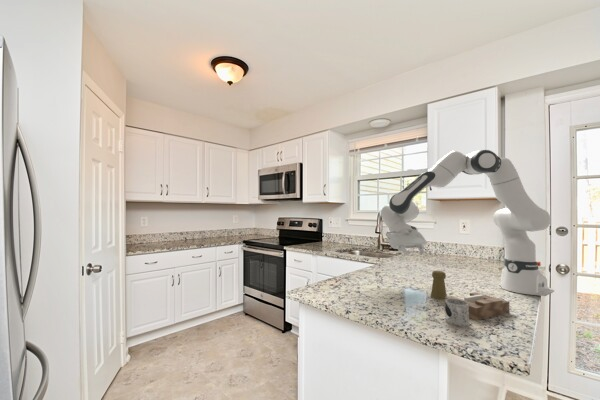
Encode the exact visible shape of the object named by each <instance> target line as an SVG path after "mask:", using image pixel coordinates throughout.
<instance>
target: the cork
mask: <svg viewBox="0 0 600 400" xmlns="http://www.w3.org/2000/svg"><path fill="white" fill-rule="evenodd" d="M431 276H432V278H433V279H432V287H431V293H430V297H431V298H433V299H436V300H441V301H442V300H444V301H445V297H448V296H447V291H446V283H445V279H446V277H447V275H446V273H445V272H444V271H442V270H433V271H432V273H431Z"/></svg>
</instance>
